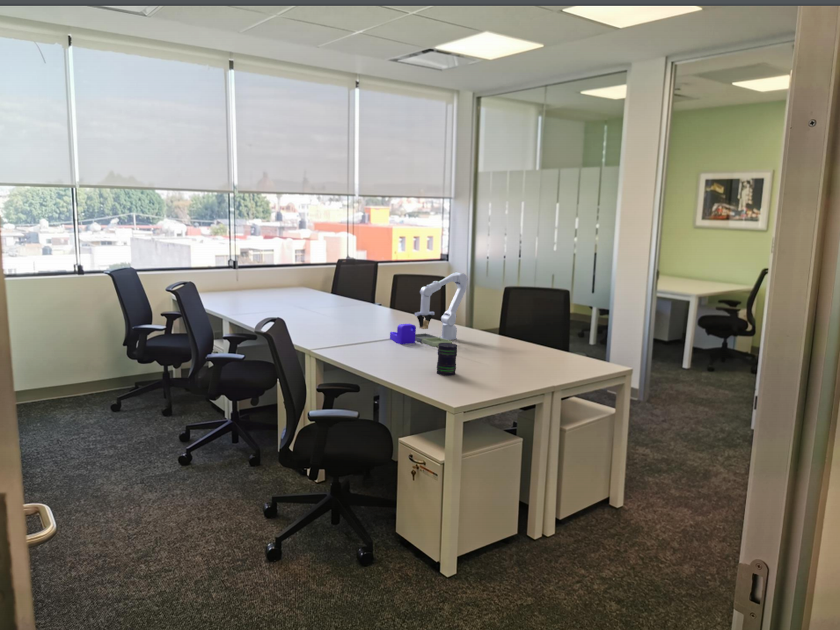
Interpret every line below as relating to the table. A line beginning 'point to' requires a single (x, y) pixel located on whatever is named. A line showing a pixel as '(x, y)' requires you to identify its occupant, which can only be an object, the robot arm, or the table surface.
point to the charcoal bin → (423, 337)
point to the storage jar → (446, 359)
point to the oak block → (425, 324)
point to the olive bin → (435, 341)
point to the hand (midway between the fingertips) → (423, 326)
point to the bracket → (404, 334)
